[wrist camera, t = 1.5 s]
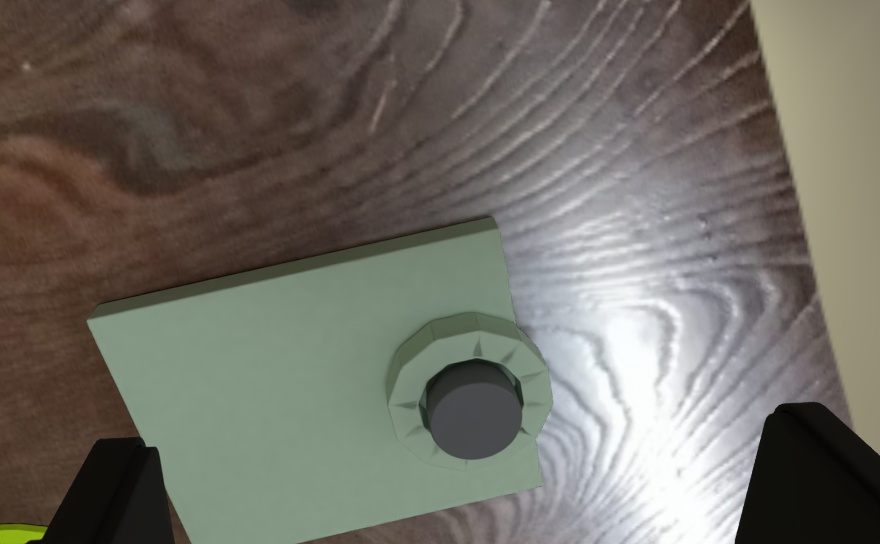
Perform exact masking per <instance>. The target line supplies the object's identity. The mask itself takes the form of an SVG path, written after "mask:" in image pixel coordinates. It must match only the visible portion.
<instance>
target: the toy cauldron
mask: <svg viewBox="0 0 880 544" xmlns="http://www.w3.org/2000/svg"><path fill="white" fill-rule="evenodd" d="M47 528H48V527H43V526H34V525H25V524H1V525H0V544H25V543H27V542H28V541H30V540H40V539H42V537H43V536H44V534H45V532H46V530H47Z"/></svg>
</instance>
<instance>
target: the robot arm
mask: <svg viewBox="0 0 880 544" xmlns="http://www.w3.org/2000/svg"><path fill="white" fill-rule="evenodd" d="M25 544H175V542H174V536H173V530H172V525H171V519H170V513H169V507H168V501H167V495H166V490H165V484H164V478H163V472H162V466H161V460H160V455H159V451H158V449H157V447H155V446H153V447H146V444H145V442H144V440H143V438H141V437H128V438H109V439H100V440H97V441H96V443H95V444H94V445H93V447H92V449H91V451H90V453H89V454H88V456H87V458H86V460H85V462H84V464H83V465H82V467H81V469H80V471H79V473H78V474H77V476H76V478H75V480H74V482H73V483H72V485H71V487H70V489H69V491H68V492H67V494H66V496H65V498H64V500H63V501H62V503H61V505H60V507H59V509H58V510H57V512H56V514H55V516H54V518H53V519H52V521H51V523H50V525H49V527H48V528H47V530H46V532H45V534H44V536H43V537H42V539H40V540H30V541H28V542H27V543H25ZM735 544H880V455H878V453H876V452H875V451H874V450H873V449H872V448H871V447H870V446H869V445H867V444H866V443H865V442H864V441H863V440H862V439H861V438H860V437H859V436H858V435H856V434H855V433H854V432H853V431H852V430H851V429H850V428H849V427H848V426H846V425H845V424H844V423H843V422H842V421H841V420H840V419H839V418H838V417H836V416H835V415H834V414H833V413H832V412H831V411H830V410H829V409H828V408H826V407H825V406H824V405H822V404H821V403H817V402H804V403H785V404H781V405H779V406H778V407H777V408H776V409H775V411H774V413H772V414H769V415H768V417H767V418H766V420H765V423H764V427H763V431H762V435H761V439H760V443H759V447H758V451H757V455H756V459H755V463H754V467H753V471H752V475H751V479H750V483H749V487H748V491H747V494H746V498H745V502H744V506H743V510H742V514H741V518H740V522H739V526H738V530H737V534H736V538H735Z"/></svg>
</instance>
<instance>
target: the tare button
mask: <svg viewBox="0 0 880 544" xmlns="http://www.w3.org/2000/svg"><path fill="white" fill-rule="evenodd" d="M426 408H427V414H428V420H429V427H430V432H431V435H432V438H433V440H434V441H435V443H436V444H437V445H438V446H439V447H440V448H441V449H442V450H443V451H444V452H446V453H447V454H449V455H451V456H453V457H456V458H460V459H466V460H478V459H484V458H487V457H490V456H493V455H495V454H497V453H499V452H501V451H502V450H504V449H505V448H506V447H508V446H509V445H510V444H511V443H512V442H513V440H514V439H515V438H516V436H517V434H518V432H519V430H520V427H521V424H522V409H521V406H520V403H519V400H518V398H517V395H516V392H515V390H514V387H513V385H512V382H511V381H510V379H509V378H508V376H507V375H506V374H505V373H504V372H502V371H501V370H500V369H498V368H496V367H494V366H492V365H489V364H486V363H481V362H468V363H463V364H459V365H456V366H454V367H451V368H450V369H448V370H446V371H445V372H443V373H442V374H441V375H440V376H439V377H438V378H437V379H436V380H435V381H434V382H433V384H432V386H431V387H430V389H429V391H428V395H427V400H426Z"/></svg>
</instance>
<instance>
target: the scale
mask: <svg viewBox="0 0 880 544" xmlns="http://www.w3.org/2000/svg"><path fill="white" fill-rule="evenodd" d="M87 324H88V326H89V328H90V330H91V332H92V335H93V337H94V339H95V341H96V343H97V345H98V347H99V349H100V351H101V354H102V356H103V358H104V360H105V362H106V364H107V366H108V368H109V370H110V373H111V375H112V377H113V379H114V381H115V383H116V385H117V387H118V389H119V392H120V394H121V396H122V398H123V400H124V402H125V404H126V406H127V408H128V411H129V413H130V415H131V417H132V419H133V421H134V423H135V425H136V427H137V430H138V432H139V434H140V436H141V438H143V440H144V442H145V444H146V447H153V446H155V447H157V449H158V451H159V455H160V460H161V466H162V472H163V478H164V484H165V489H166V491H167V493H168V495H169V497H170V499H171V501H172V503H173V506H174V508H175V510H176V512H177V514H178V516H179V518H180V520H181V522H182V525H183V527H184V529H185V531H186V533H187V535H188V537H189V539H190V541H191V544H297V543H301V542H305V541H309V540H314V539H318V538H322V537H327V536H331V535H335V534H340V533H344V532H348V531H352V530H357V529H361V528H365V527H370V526H374V525H378V524H382V523H387V522H391V521H395V520H400V519H404V518H408V517H413V516H417V515H421V514H425V513H430V512H434V511H438V510H443V509H447V508H451V507H455V506H460V505H464V504H468V503H473V502H477V501H481V500H486V499H490V498H494V497H498V496H503V495H507V494H511V493H516V492H520V491H524V490H528V489H533V488H537V487H541V486H543V482H542V476H541V470H540V464H539V458H538V452H537V446H536V440H535V439H536V437H538V435H539V433H540V431H541V429H542V427H543V425H544V423H545V420H546V418H547V416H548V414H549V412H550V410H551V408H552V406H553V396H552V390H551V383H550V376H549V370H548V367H547V365H546V363H545V361H544V359H543V357H542V355H541V353H540V351H539V349H538V347H537V346H536V345H535V344H534V343H533V342H532V341H531V340H530V339H529V338H528V337H527V336H526V335H525V334H524V333H523V332H522V331H521V330H520V329H519V328H518V327H517V326H516V321H515V315H514V309H513V303H512V297H511V291H510V285H509V279H508V273H507V267H506V261H505V255H504V249H503V243H502V237H501V231H500V228H499V226H498V224H497V223H496V221H495V219H494V217H489V218H485V219H480V220H476V221H471V222H467V223H462V224H458V225H453V226H449V227H445V228H440V229H436V230H431V231H427V232H422V233H418V234H413V235H409V236H404V237H400V238H395V239H391V240H386V241H382V242H377V243H373V244H368V245H364V246H359V247H355V248H351V249H346V250H342V251H337V252H333V253H328V254H324V255H319V256H315V257H310V258H306V259H301V260H297V261H292V262H288V263H283V264H279V265H274V266H270V267H265V268H261V269H257V270H252V271H248V272H243V273H239V274H234V275H230V276H225V277H221V278H216V279H212V280H207V281H203V282H198V283H194V284H189V285H185V286H180V287H176V288H171V289H167V290H163V291H158V292H154V293H149V294H145V295H140V296H136V297H131V298H127V299H122V300H118V301H113V302H109V303H104V304H100V305H98V306H97V307H96V309H95V310H94V311H93V312H92V314H91V315H90V316H89V318H88V319H87ZM468 362H481V363H486V364H489V365H492V366H494V367H496V368H498V369H500V370H501V371H502V372H504V373H505V374H506V375H507V376H508V378H509V379H510V381H511V382H512V385H513V387H514V390H515V392H516V395H517V398H518V400H519V403H520V406H521V409H522V424H521V427H520V430H519V432H518V434H517V436H516V438H515V439H514V440H513V442H512V443H511V444H510V445H509V446H508V447H506V448H505V449H504V450H502V451H501V452H499V453H497V454H495V455H493V456H490V457H487V458H484V459H478V460H466V459H460V458H456V457H453V456H451V455H449V454H447V453H446V452H444V451H443V450H442V449H441V448H440V447H439V446H438V445H437V444H436V443H435V441H434V440H433V438H432V435H431V432H430V427H429V420H428V414H427V408H426V400H427V395H428V391H429V389H430V387H431V386H432V384H433V382H434V381H435V380H436V379H437V378H438V377H439V376H440V375H441V374H442V373H443V372H445V371H446V370H448V369H450V368H451V367H454V366H456V365H459V364H463V363H468Z"/></svg>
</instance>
